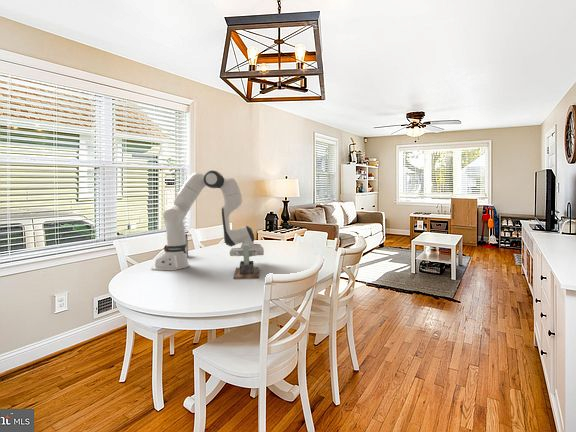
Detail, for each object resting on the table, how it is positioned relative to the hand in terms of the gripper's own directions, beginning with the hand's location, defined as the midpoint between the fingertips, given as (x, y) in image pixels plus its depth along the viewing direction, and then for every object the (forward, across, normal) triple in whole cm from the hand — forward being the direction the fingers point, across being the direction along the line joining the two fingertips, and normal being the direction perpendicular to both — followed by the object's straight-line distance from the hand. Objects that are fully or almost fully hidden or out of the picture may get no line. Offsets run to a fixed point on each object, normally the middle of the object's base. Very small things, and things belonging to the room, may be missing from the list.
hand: (246, 254), depth 192 cm
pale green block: (-1, 0, +10) cm, 10 cm away
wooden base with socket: (-1, 0, +12) cm, 12 cm away
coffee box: (-53, -50, +12) cm, 74 cm away
